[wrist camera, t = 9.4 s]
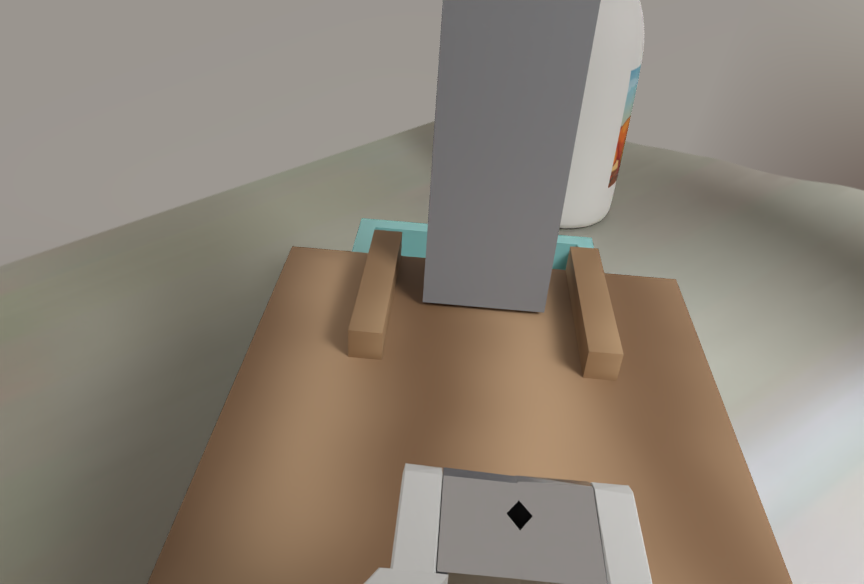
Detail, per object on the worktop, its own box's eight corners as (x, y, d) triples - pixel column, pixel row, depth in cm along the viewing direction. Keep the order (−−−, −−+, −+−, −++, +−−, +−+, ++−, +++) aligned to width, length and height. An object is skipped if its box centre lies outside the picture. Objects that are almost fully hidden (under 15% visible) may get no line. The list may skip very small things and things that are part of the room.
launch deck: (619, 470, 33) (682, 255, 26) (692, 845, 21) (834, 619, 15) (302, 441, 33) (291, 222, 27) (200, 796, 21) (138, 554, 15)
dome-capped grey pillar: (538, 260, 27) (609, -164, 20) (544, 318, 24) (631, -156, 17) (428, 250, 27) (459, -175, 20) (421, 307, 24) (454, -169, 17)
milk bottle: (585, 243, 49) (655, -96, 38) (482, 209, 52) (518, -114, 41) (624, 201, 55) (694, -107, 43) (528, 172, 58) (571, -122, 46)
